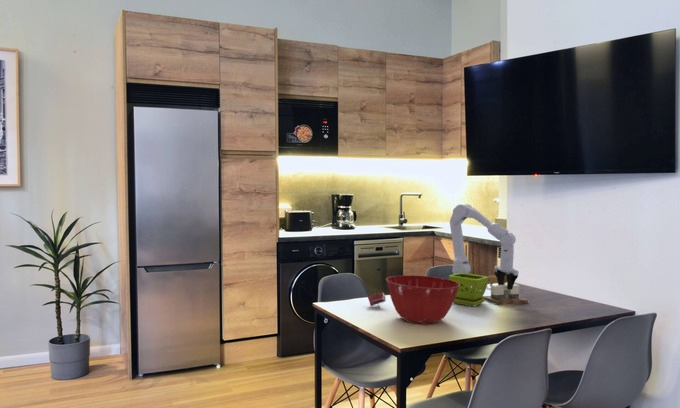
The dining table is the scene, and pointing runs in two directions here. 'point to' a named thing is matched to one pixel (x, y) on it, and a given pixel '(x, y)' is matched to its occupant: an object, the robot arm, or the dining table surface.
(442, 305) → the mixing bowl
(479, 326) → the dining table surface
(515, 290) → the cream bar
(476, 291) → the flower pot
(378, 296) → the geometric puzzle
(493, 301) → the brown rectangular board
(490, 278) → the lion figurine
